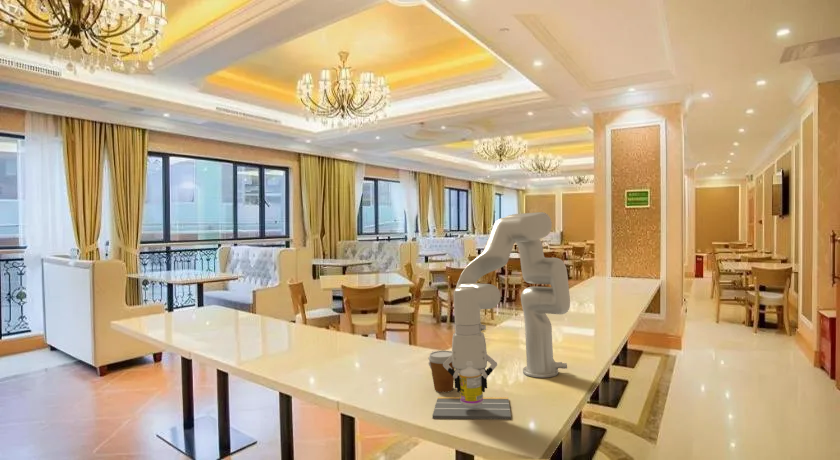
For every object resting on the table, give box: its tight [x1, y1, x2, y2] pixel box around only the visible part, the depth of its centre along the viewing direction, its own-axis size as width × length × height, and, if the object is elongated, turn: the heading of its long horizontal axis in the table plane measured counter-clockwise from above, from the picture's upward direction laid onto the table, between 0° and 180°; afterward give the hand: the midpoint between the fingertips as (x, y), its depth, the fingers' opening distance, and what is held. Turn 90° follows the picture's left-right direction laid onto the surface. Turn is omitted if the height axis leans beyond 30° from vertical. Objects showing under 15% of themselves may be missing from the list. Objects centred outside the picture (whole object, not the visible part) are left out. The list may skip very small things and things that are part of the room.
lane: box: [432, 396, 512, 420], centre depth 134 cm, size 22×15×1 cm
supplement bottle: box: [459, 361, 484, 406], centre depth 132 cm, size 7×7×13 cm
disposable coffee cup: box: [427, 350, 455, 393], centre depth 153 cm, size 10×10×12 cm
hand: (471, 390), depth 132 cm, fingers closed on supplement bottle, 6 cm apart
